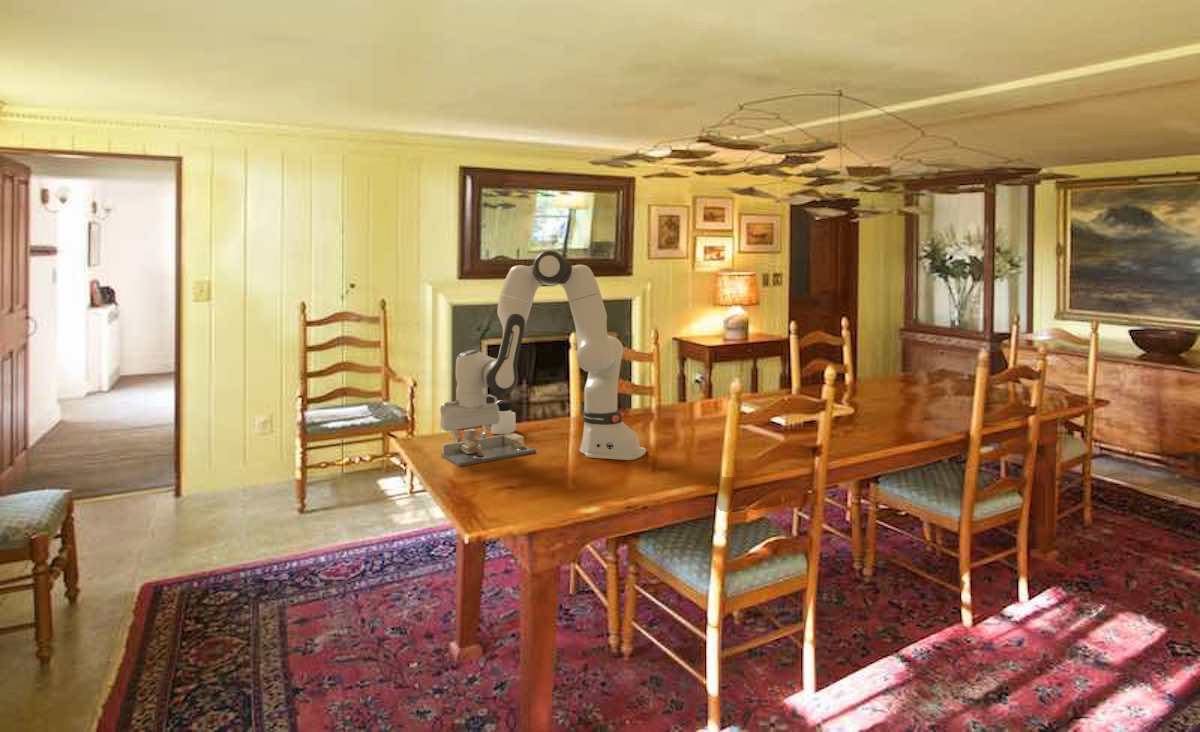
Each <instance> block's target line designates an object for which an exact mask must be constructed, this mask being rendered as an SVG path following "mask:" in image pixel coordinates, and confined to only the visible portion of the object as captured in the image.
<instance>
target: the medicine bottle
mask: <svg viewBox="0 0 1200 732" xmlns="http://www.w3.org/2000/svg"><path fill="white" fill-rule="evenodd" d="M496 404H497V405H498V407H499V413H500V421H499V422H498V423H497V424H491V425H490V430H491V431H490V433H491V434H492V435H503V434H510V433H515V432H516V430H517V429H516V428H517V426H516V411H515V412H514V411H512V402H511V401H510V400H508V399H501V400H497V403H496Z"/></svg>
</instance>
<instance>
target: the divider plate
mask: <svg viewBox="0 0 1200 732" xmlns="http://www.w3.org/2000/svg"><path fill="white" fill-rule="evenodd" d="M478 443H479V445H481V451H482V455H478V452H476V453H470V454H467V453H465V452H463V451H461V445H463V444H464V440H463V441H462V440H461V442H458V443H456V442H455V441H454V442H451V443H449V442H448V443H444V444H442V445H441V446H442V453H440V454H441V455H440V457H442V458H444V459H445V460H446V461H449V462H450V463H452V464H454V465H455V466H457V465H458V467H464V466H463V465H465V466H468V465H469V466H470V465H475V463H476V464H480V463H486V462H492V461H498V460H503V458H504V459H508V458H513V457H514V456H515V457H519V456H526V455H530V454H536V453H537V451H536V449H534V448H532V447H531V446H528V445H525V442H524V436H523V435H520V434H517V433H516V432H512V433H511V434H505V435H503V434H498V435H494V436H487V438H481V437H480V438H478ZM497 459H498V460H497Z"/></svg>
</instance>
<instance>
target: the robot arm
mask: <svg viewBox="0 0 1200 732" xmlns="http://www.w3.org/2000/svg"><path fill="white" fill-rule="evenodd" d="M558 285H559V286H561V287H562V289H564V292H565V294H566V297H567V301H568V304H569V308H570V311H571V315H572V319H573V322H574V327H575V338H576V344H577V345H576V346H577V350H576V351H577V352H576V362H577V365H578V366H579V368H580V369H581V370H583V371H585V372H586V373H587V372H588V373H587V378H586V382H585V385H584V393H583V394H584V401H583V402H584V409H583V411H582V412H583V413H582V414H583V415H582V424H583V433H582V440H581V444H580V447H579V452H580V453H582V454H584V455H585V457H586V458H592V459H593V458H594V459H605V460H607V459H609V460H619V461H621V460H622V461H632V460H637V459H639V458H641V457H643V456H645V454H646V453H647V450H646V447H643V446H640V439H639V436H638V433H636V432H635V431H634V430H633V429H631V427H629V426H628V425H626V423H624V422H623V417H624V416H625V415H624V414H625V412H620V411H619V410H618V383H619V378H620V372H621V364H622V357H623V355H624V346H623V344H622V342H621V340H619V338H617V337H615V336H612V335H609V334H608V329H607V327H608V325H607V324H608V323H607V320H608V315H607V311H606V307H605V304H604V300H603V297H602V293H601V290H600V287H599V284H598V282H597V278H596V277H595V275H594V272H593V271H592V269H591V268H590V267H589V266H588V265H585V264H576V265H572V264H571V263H570V262H569V261H568V260H567V259H565V257H563V255H561V254H560V253H559V252H557V251H555V250H545V251H542V252H540V253H539V254H538V255H537V256H536V257H535V258H534V260H533V264H532V265H529V266H527V265H522V264H518V265H514V266H512V267H511V268H510V269H509V270H508V273H507V274H506V277H505V280H504V282H503V284H502V287H501V291H500V293H499V297H498V302H497V311H496V313H497V316H498V320H499V321H500V324H501V327H502V338H501V343H500V347H499V352H498V356H497V357H496V358H495V357H491V356H490V355H487V354H485V353H483V352H481V351H480V350H479V349H469V350H466V351H462V352H461V353H459V354H458V355H457V356H456V360H455V361H456V362H455V380H456V389H455V393H456V394H455V398H456V400H453V401H446V402H444V403H443V404H442V405H441V406H440V421H439V422H440V428H441V429H442V431H444V432H448V431H449V432H450V431H451V434H452V435H453V438H454V443H455V442H456V443H458V442H461V441H462V440H461V439H462V437H461V436H459V435H458V430H462V429H464V430H465V429H469V428H470V429H472V428H476V427H483V430H482V432H480V438H487V437H488V432H489V430H490V429H491V424H497V423H498V422H499V421H500V413H499V407H498V405H497V404H496V403H497V401H498V397H496V396H494V395H492V394H488V393H486V392H484V388H489V389H490V391H491V392H493V393H494V394H496V395H500V396H501V395H502V396H504V395H508V394H511V392H513V391H514V390H515V389H516V388H517V385H518V384H519V372H518V362H519V356H520V351H521V349H522V348H521V347H522V343H523V339H524V338H523V337H524V332H525V329H526V325H527V323H528V322H527V321H528V320H529V316H530V313H531V309H532V306H533V303H534V298H535V296H536V292H537V291H538V289H539V288H540V287H555V286H556V287H557V286H558Z"/></svg>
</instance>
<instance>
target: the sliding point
mask: <svg viewBox="0 0 1200 732" xmlns="http://www.w3.org/2000/svg"><path fill="white" fill-rule="evenodd" d="M462 432H463V441H464V444H463V445H461V451H463V452H465V453H467V454H470V453H476V452H478V455H482V451H481V445H479V443H478V439H479V430H476V429H474V428H470V429H469V428H467V429H464V430H463V431H462Z"/></svg>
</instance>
